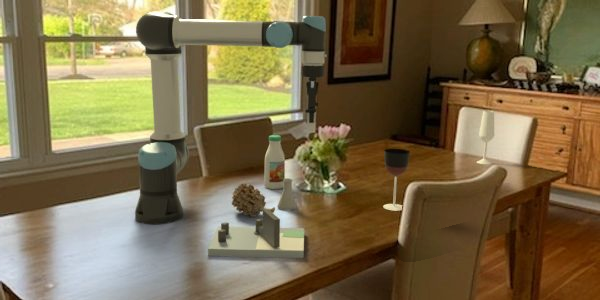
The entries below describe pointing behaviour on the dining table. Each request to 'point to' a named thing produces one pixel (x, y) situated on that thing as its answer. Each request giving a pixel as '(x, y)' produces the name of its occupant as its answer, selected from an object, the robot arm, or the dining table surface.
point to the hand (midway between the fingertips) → (311, 128)
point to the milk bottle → (274, 164)
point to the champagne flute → (486, 132)
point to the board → (255, 243)
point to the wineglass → (396, 169)
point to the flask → (287, 196)
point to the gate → (269, 228)
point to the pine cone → (249, 200)
